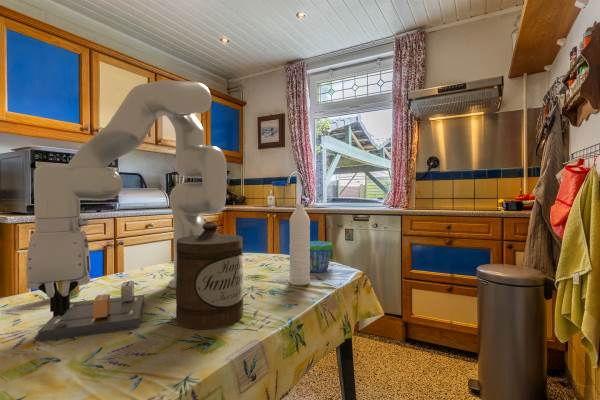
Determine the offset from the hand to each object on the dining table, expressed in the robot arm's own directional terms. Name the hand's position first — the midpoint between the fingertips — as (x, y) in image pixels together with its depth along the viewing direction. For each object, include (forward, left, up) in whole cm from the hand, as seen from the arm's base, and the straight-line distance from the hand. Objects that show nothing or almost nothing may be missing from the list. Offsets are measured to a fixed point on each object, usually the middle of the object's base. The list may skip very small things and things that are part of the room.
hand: (60, 313), depth 66 cm
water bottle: (-60, -13, -4) cm, 61 cm away
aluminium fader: (-11, -9, -1) cm, 15 cm away
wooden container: (-30, +4, -4) cm, 30 cm away
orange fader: (-7, 0, -1) cm, 8 cm away
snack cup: (-71, -26, -4) cm, 76 cm away
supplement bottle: (+5, -25, -4) cm, 26 cm away
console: (-6, -4, -3) cm, 8 cm away
